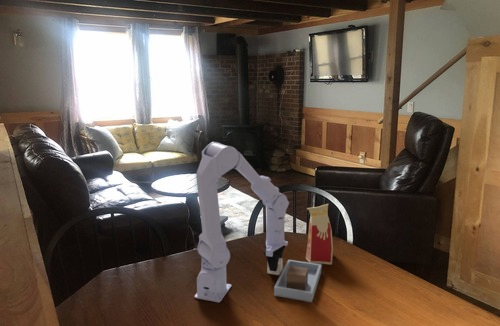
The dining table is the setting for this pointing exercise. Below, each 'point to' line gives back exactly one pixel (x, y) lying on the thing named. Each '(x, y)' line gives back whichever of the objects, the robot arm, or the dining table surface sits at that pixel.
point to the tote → (295, 294)
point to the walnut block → (297, 278)
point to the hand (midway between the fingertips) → (274, 267)
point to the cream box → (277, 268)
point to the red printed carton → (319, 236)
